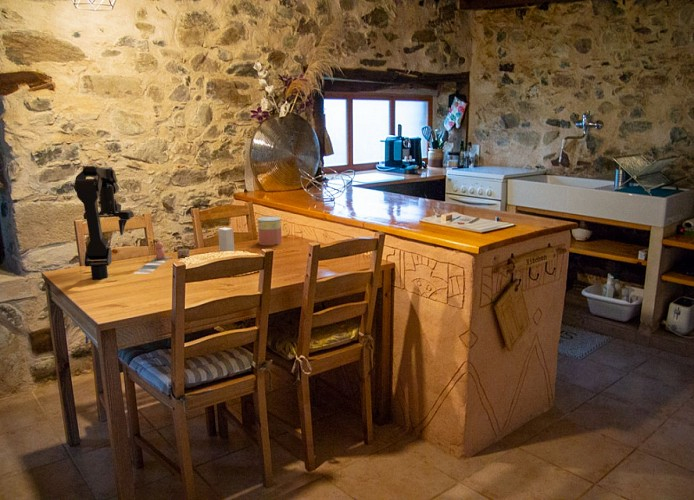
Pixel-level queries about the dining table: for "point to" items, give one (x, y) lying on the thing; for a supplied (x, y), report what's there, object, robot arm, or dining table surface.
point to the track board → (151, 266)
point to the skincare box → (226, 239)
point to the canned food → (269, 230)
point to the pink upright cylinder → (159, 251)
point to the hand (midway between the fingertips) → (110, 235)
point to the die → (183, 253)
